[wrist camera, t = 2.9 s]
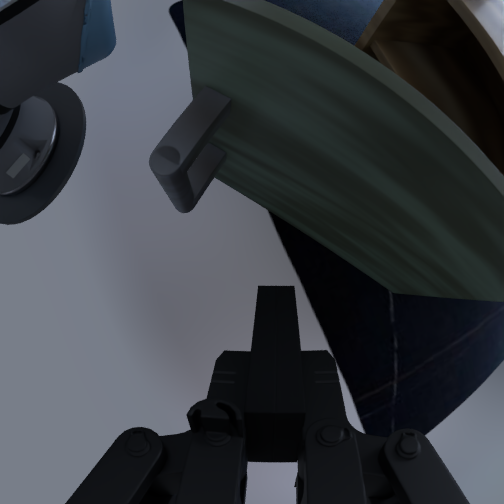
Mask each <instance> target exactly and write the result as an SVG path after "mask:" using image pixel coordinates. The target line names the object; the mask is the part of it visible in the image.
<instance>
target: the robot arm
mask: <svg viewBox="0 0 504 504" xmlns="http://www.w3.org/2000/svg"><path fill="white" fill-rule="evenodd" d="M115 45H116V36H115V29H114V23H113V16H112V9H111V1H110V0H0V195H1V196H7V197H8V196H14V195H17V194H19V193H22V192H23V191H25V190H26V189H28V188H29V187H30V186H31V185H33V184H34V183H35V182H36V181H37V180H38V178H39V177H40V176H41V175H42V173H43V172H44V171H45V169H46V168H47V166H48V164H49V163H50V161H51V159H52V157H53V155H54V152H55V150H56V147H57V143H58V139H59V133H60V122H59V117H58V114H57V112H56V110H55V109H54V108H53V107H52V106H51V105H50V104H49V102H47V101H46V100H45V99H43V98H40V97H37V96H34V95H36V94H37V93H39V92H41V91H42V90H44V89H46V88H48V87H49V86H51V85H53V84H55V83H56V82H58V81H60V80H62V79H64V78H66V77H68V76H70V75H71V74H74V73H76V72H78V73H80V72H82V71H83V69H84V68H86V67H88V66H90V65H92V64H94V63H96V62H98V61H100V60H102V59H104V58H106V57H107V56H108V55H110V54H111V52H112V51H113V50H114V48H115ZM299 337H300V336H299V326H298V316H297V307H296V298H295V288H294V286H258V293H257V302H256V311H255V320H254V329H253V337H252V346H251V351H224V352H223V353H222V354H221V355H220V356H219V357H218V358H217V360H216V362H215V366H214V371H213V375H212V379H211V383H210V387H209V391H208V395H207V399H205V400H202V401H199V402H197V403H196V404H195V405H193V406H192V407H191V408H190V410H189V411H188V413H187V418H188V421H189V425H190V428H191V430H189V431H186V432H184V433H180V434H174V435H165V436H159V435H158V434H157V433H156V432H154V431H152V430H151V429H148V428H144V427H136V428H131V429H128V430H126V431H124V432H123V433H122V434H121V435H120V436H119V437H118V438H117V439H116V440H115V441H114V443H113V444H112V445H111V447H110V448H109V449H108V450H107V452H106V453H105V454H104V455H103V457H102V458H101V459H100V460H99V462H98V463H97V464H96V466H95V467H94V468H93V469H92V471H91V472H90V473H89V474H88V476H87V477H86V478H85V480H84V481H83V482H82V483H81V484H80V486H79V487H78V488H77V490H76V491H75V492H74V493H73V495H72V496H71V497H70V498H69V500H68V501H67V502H66V503H65V504H245V497H246V487H247V463H248V462H297V460H298V473H297V477H296V482H295V486H294V487H296V497H297V498H296V502H297V503H296V504H470V503H469V502H468V500H467V499H466V497H465V496H464V494H463V492H462V491H461V489H460V487H459V486H458V484H457V483H456V481H455V480H454V478H453V477H452V475H451V473H450V472H449V470H448V469H447V467H446V466H445V464H444V463H443V461H442V460H441V458H440V457H439V455H438V454H437V452H436V451H435V449H434V447H433V446H432V444H431V443H430V442H429V440H428V439H427V438H426V437H425V436H424V435H423V434H422V433H421V432H419V431H416V430H414V429H401V430H397V431H395V432H394V433H392V434H391V435H390V436H389V437H388V438H387V437H380V436H373V435H368V434H364V433H362V432H359V431H358V430H356V429H355V428H354V427H353V426H351V424H350V423H349V421H348V419H347V416H346V412H345V406H344V401H343V396H342V391H341V386H340V383H339V376H338V373H337V367H336V362H335V359H334V358H333V357H332V356H331V354H330V353H329V352H328V351H327V350H320V351H319V350H317V351H301V347H300V338H299Z"/></svg>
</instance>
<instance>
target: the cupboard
mask: <svg viewBox="0 0 504 504" xmlns="http://www.w3.org/2000/svg"><path fill="white" fill-rule="evenodd" d="M355 47H357V48H358V49H360V50H361V51H363V52H365V53H366V54H368V55H369V56H371V57H372V58H374V59H375V60H377V61H378V62H380V63H381V64H383V65H384V66H385V67H387V68H388V69H390V70H391V71H392V72H394V73H395V74H396V75H398V76H399V77H401V78H402V79H403V80H404V81H406V82H407V83H408V84H410V85H411V86H412V87H413V88H415V89H416V90H417V91H418V92H420V93H421V94H422V95H423V96H424V97H426V98H427V99H428V100H429V101H430V102H432V103H433V104H434V105H435V106H436V107H437V108H438V109H440V110H441V111H442V112H443V113H444V114H445V115H446V116H447V117H448V118H449V119H450V120H452V121H453V122H454V123H455V124H456V125H457V126H458V127H459V128H460V129H461V130H462V131H463V132H464V133H465V134H466V135H467V136H468V137H469V138H470V139H471V140H472V141H473V142H474V143H475V144H476V145H477V147H478V148H479V149H480V150H481V151H482V152H483V153H484V154H485V155H486V156H487V158H488V159H489V160H490V161H491V162H492V163H493V164H494V166H495V167H496V168H497V169H498V170H499V172H500V173H501V174H502V175H503V176H504V0H384V1H383V2H382V4H381V5H380V7H379V8H378V10H377V11H376V13H375V15H374V16H373V18H372V19H371V21H370V22H369V24H368V26H367V27H366V29H365V30H364V32H363V33H362V35H361V37H360V38H359V40H358V41H357V43H356V44H355Z"/></svg>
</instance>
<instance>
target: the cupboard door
mask: <svg viewBox="0 0 504 504" xmlns="http://www.w3.org/2000/svg"><path fill="white" fill-rule="evenodd" d="M183 7H184V19H185V30H186V40H187V50H188V60H189V69H190V78H191V87H192V95H193V101H192V102H191V103H190V105H189V106H188V107H187V108H186V109H185V111H184V112H183V113H182V114H181V115H180V117H179V118H178V119H177V120H176V122H175V123H174V124H173V125H172V127H171V128H170V129H169V131H168V132H167V133H166V134H165V136H164V137H163V138H162V140H161V141H160V142H159V144H158V145H157V146H156V148H155V149H154V150H153V152H152V154H151V156H150V160H149V165H150V168H151V170H152V171H153V173H154V175H155V176H156V178H157V179H158V181H159V183H160V184H161V186H162V187H163V189H164V191H165V192H166V194H167V195H168V197H169V198H170V200H171V202H172V203H173V205H174V206H175V208H176V209H177V210H178V211H179V212H182V213H188V212H190V211H191V210H193V208H194V207H195V205H196V204H197V202H198V201H199V199H200V198H201V196H202V195H203V193H204V191H205V190H206V189H207V187H208V186H209V184H210V183H211V181H212V180H213V179H214V177H215V178H216V179H218V180H220V181H221V182H223V183H225V184H226V185H228V186H230V187H231V188H233V189H235V190H236V191H238V192H240V193H241V194H243V195H244V196H246V197H248V198H249V199H251V200H253V201H254V202H256V203H258V204H259V205H261V206H262V207H264V208H266V209H267V210H269V211H270V212H272V213H274V214H275V215H277V216H278V217H280V218H281V219H283V220H285V221H286V222H288V223H289V224H291V225H292V226H294V227H296V228H297V229H299V230H300V231H302V232H303V233H305V234H306V235H308V236H310V237H311V238H313V239H314V240H316V241H317V242H319V243H320V244H322V245H323V246H325V247H326V248H328V249H329V250H331V251H332V252H334V253H335V254H337V255H338V256H340V257H341V258H343V259H344V260H346V261H347V262H349V263H350V264H352V265H353V266H355V267H356V268H358V269H359V270H361V271H362V272H364V273H365V274H367V275H368V276H369V277H371V278H372V279H374V280H375V281H377V282H378V283H380V284H381V285H382V286H384V287H385V288H387V289H388V290H390V291H391V292H392V293H399V294H410V295H421V296H433V297H445V298H457V299H470V300H484V301H498V302H504V176H503V175H502V174H501V173H500V172H499V170H498V169H497V168H496V167H495V166H494V164H493V163H492V162H491V161H490V160H489V159H488V158H487V156H486V155H485V154H484V153H483V152H482V151H481V150H480V149H479V148H478V147H477V145H476V144H475V143H474V142H473V141H472V140H471V139H470V138H469V137H468V136H467V135H466V134H465V133H464V132H463V131H462V130H461V129H460V128H459V127H458V126H457V125H456V124H455V123H454V122H453V121H452V120H450V119H449V118H448V117H447V116H446V115H445V114H444V113H443V112H442V111H441V110H440V109H438V108H437V107H436V106H435V105H434V104H433V103H432V102H430V101H429V100H428V99H427V98H426V97H424V96H423V95H422V94H421V93H420V92H418V91H417V90H416V89H415V88H413V87H412V86H411V85H410V84H408V83H407V82H406V81H404V80H403V79H402V78H401V77H399V76H398V75H396V74H395V73H394V72H392V71H391V70H390V69H388V68H387V67H385V66H384V65H383V64H381V63H380V62H378V61H377V60H375V59H374V58H372V57H371V56H369V55H368V54H366V53H365V52H363V51H361V50H360V49H358V48H357V47H355V46H353V45H352V44H350V43H349V42H347V41H345V40H343V39H342V38H340V37H338V36H337V35H335V34H333V33H331V32H329V31H328V30H326V29H324V28H322V27H320V26H318V25H316V24H314V23H312V22H310V21H308V20H306V19H304V18H302V17H300V16H298V15H296V14H294V13H292V12H290V11H287V10H285V9H283V8H281V7H278V6H276V5H274V4H271V3H269V2H266V1H264V0H183ZM196 158H197V159H196Z"/></svg>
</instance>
